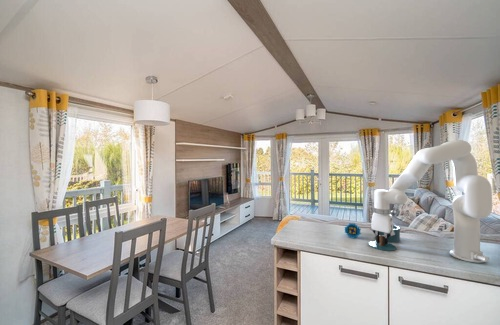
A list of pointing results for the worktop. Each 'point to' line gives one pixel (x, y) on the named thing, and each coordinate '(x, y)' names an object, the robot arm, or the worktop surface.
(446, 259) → the worktop surface
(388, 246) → the tin lid
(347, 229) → the toy flower
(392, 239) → the tin
